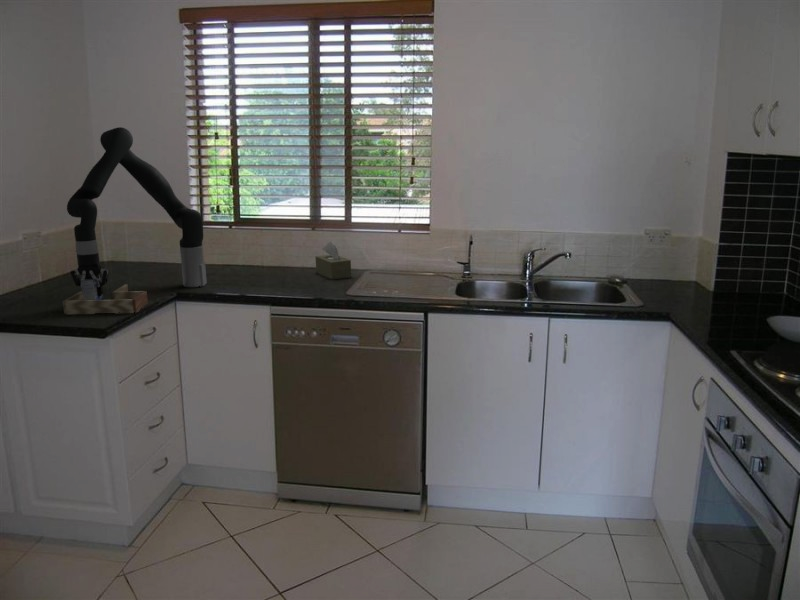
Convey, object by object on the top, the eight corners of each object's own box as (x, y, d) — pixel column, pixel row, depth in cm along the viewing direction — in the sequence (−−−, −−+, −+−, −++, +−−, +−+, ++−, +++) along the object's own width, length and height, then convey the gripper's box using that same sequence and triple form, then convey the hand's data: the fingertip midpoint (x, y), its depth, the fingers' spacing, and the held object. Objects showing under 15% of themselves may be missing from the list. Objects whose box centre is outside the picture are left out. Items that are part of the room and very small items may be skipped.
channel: (158, 295, 270) (157, 283, 268) (136, 313, 243) (134, 299, 242) (93, 296, 268) (92, 284, 267) (64, 314, 242) (62, 301, 241)
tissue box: (315, 272, 312) (314, 239, 308) (334, 270, 317) (333, 237, 313) (332, 280, 296) (330, 245, 292) (351, 277, 301) (350, 243, 297)
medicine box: (95, 303, 248) (92, 280, 246) (83, 303, 248) (80, 281, 246) (103, 298, 256) (100, 276, 254) (91, 298, 256) (88, 276, 253)
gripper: (110, 250, 251) (115, 293, 255) (72, 250, 251) (78, 294, 255) (102, 253, 244) (108, 298, 248) (63, 254, 243) (69, 299, 247)
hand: (92, 296), depth 251 cm, fingers closed on medicine box, 4 cm apart
